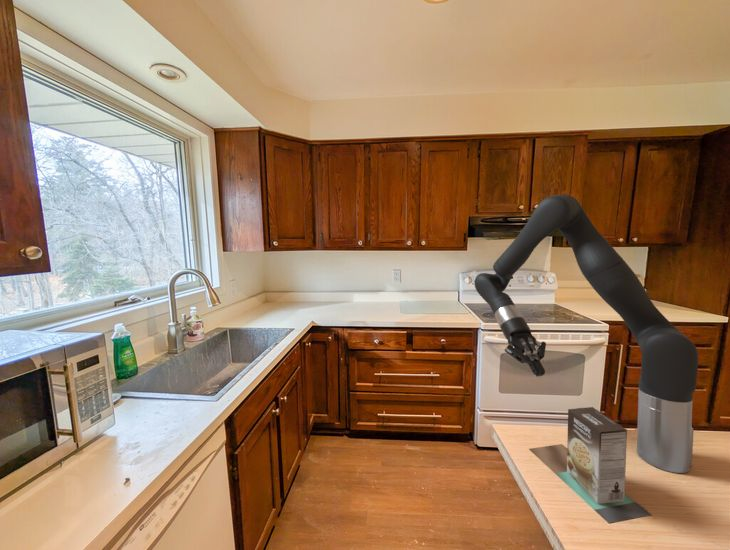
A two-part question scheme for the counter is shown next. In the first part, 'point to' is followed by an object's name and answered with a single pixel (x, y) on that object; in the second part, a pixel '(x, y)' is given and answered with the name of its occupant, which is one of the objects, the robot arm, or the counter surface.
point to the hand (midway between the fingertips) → (541, 375)
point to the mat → (610, 512)
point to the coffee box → (597, 454)
